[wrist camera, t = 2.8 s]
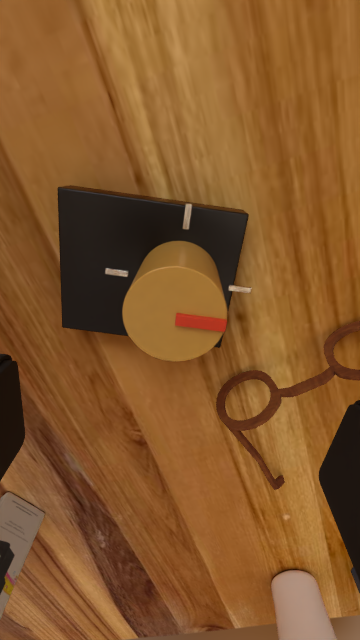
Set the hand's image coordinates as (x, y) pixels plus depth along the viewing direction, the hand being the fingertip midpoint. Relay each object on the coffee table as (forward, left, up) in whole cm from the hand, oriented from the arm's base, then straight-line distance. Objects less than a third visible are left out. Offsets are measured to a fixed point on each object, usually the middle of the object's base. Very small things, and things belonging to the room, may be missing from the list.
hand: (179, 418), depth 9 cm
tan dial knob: (0, 0, -12) cm, 12 cm away
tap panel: (-2, 0, -14) cm, 14 cm away
